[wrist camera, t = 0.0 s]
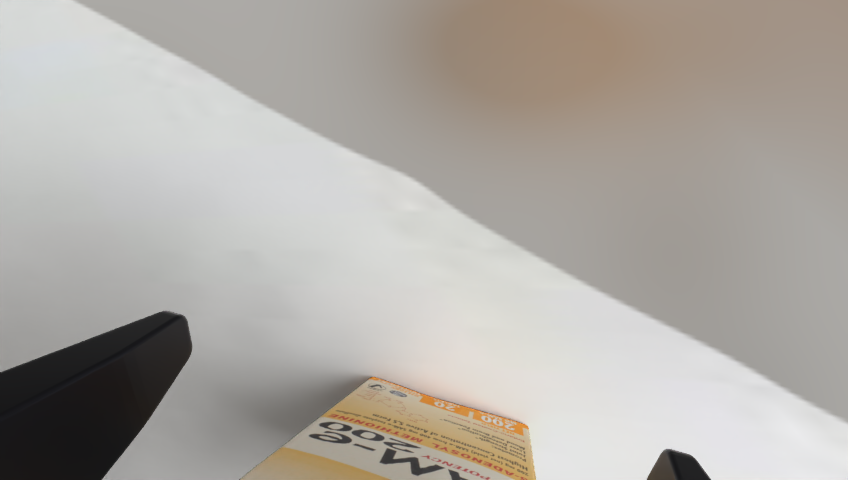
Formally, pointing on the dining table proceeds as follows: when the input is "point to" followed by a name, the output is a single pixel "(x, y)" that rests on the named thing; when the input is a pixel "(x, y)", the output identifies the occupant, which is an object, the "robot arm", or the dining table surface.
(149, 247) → the dining table surface
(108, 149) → the dining table surface
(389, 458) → the supplement box
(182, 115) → the dining table surface
